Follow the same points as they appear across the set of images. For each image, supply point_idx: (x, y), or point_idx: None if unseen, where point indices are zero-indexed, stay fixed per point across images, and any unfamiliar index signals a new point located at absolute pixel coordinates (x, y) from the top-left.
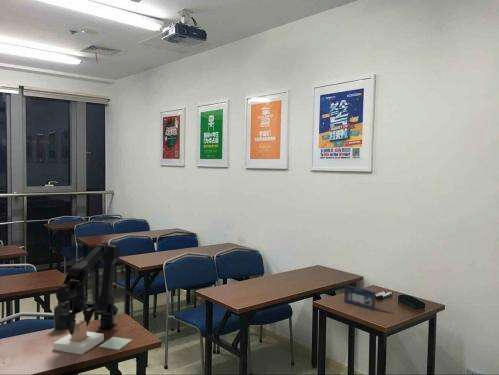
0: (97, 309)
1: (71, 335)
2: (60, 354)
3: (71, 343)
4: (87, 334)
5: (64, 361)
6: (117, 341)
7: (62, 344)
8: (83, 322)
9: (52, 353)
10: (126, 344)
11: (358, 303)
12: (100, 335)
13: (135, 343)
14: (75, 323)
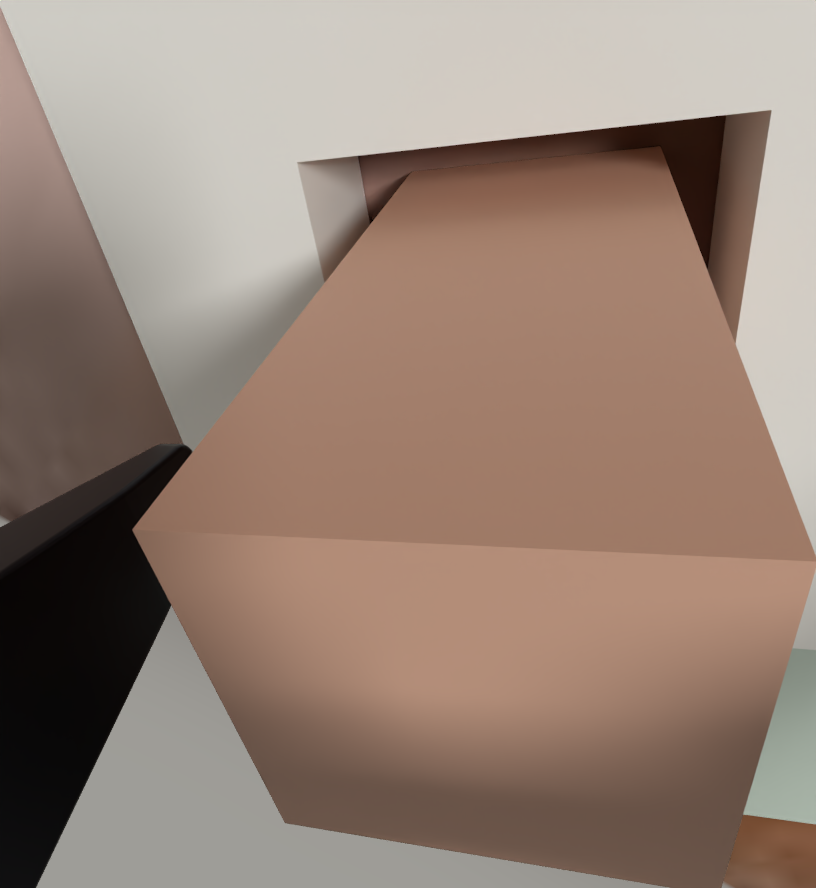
0: None
1: (336, 284)
2: (101, 251)
3: (244, 382)
4: (807, 386)
5: (58, 456)
6: (804, 734)
7: (99, 236)
8: (561, 849)
9: (9, 64)
10: (748, 805)
11: None
12: (795, 642)
13: (805, 853)
14: (306, 674)
